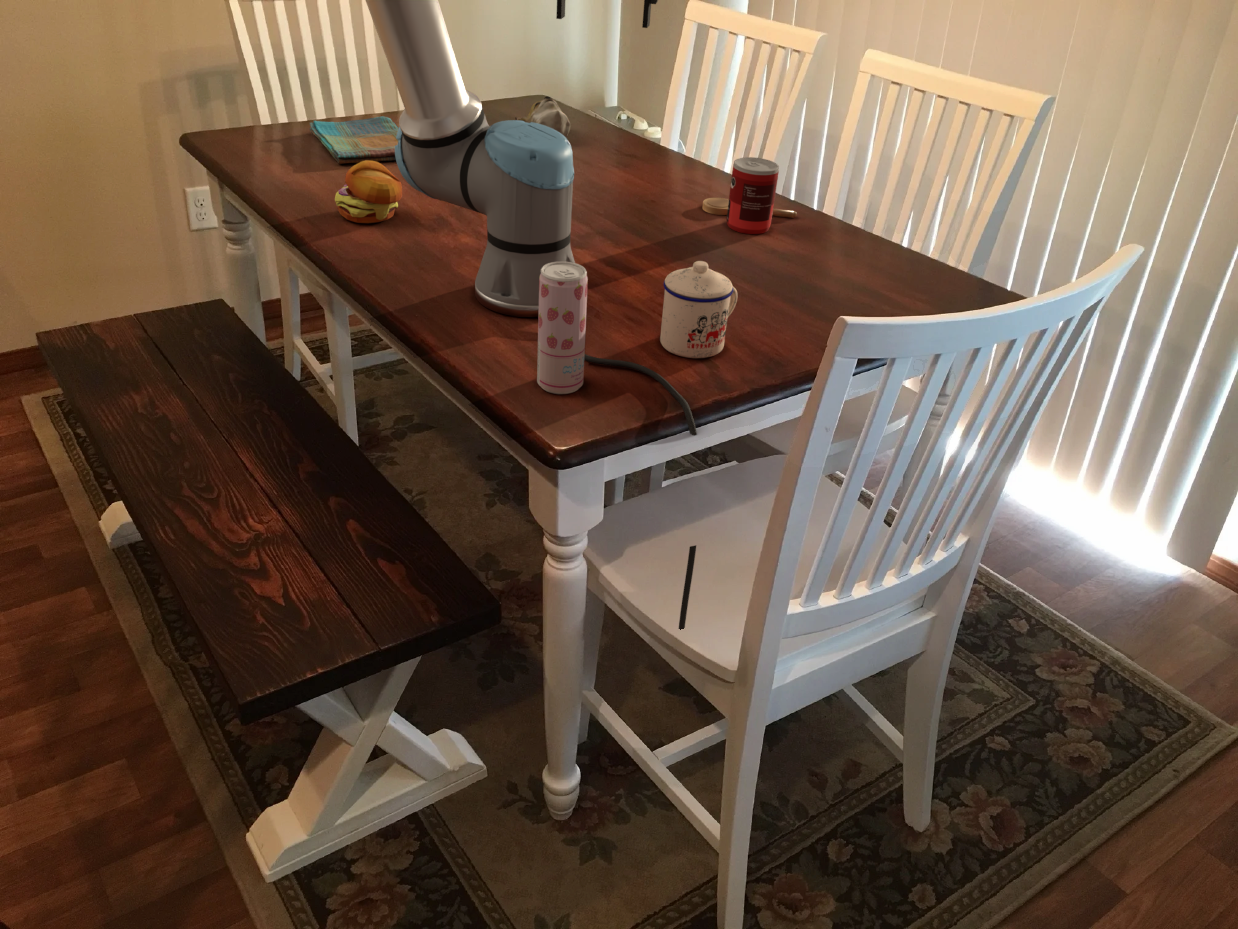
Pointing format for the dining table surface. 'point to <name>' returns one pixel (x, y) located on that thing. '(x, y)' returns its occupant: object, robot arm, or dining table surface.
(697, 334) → the teacup with lid
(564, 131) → the ceramic sculpture
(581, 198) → the dining table surface
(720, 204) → the spoon
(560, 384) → the beverage can
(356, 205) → the cheeseburger
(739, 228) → the canned food
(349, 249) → the dining table surface
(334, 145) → the dish towel
